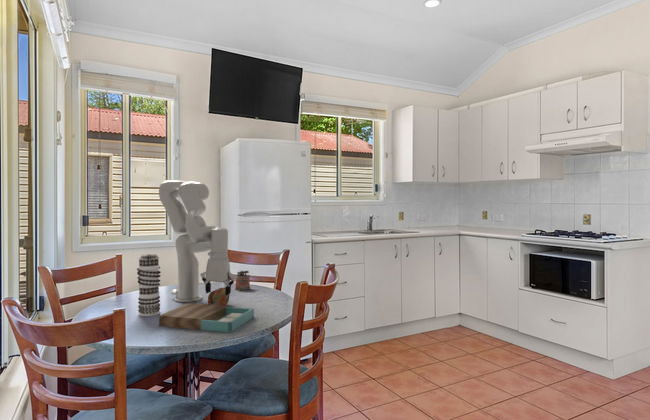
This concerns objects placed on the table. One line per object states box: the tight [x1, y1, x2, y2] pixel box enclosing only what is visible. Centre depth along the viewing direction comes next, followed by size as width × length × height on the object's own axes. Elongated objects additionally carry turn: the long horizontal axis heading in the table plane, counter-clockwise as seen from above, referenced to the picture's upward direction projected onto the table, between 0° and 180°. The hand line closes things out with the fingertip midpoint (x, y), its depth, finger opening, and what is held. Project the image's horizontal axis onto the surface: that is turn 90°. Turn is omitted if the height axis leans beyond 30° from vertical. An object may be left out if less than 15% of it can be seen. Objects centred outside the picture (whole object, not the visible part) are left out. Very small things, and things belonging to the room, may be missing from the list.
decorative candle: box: [136, 253, 162, 317], centre depth 173 cm, size 9×9×25 cm
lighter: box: [234, 270, 251, 291], centre depth 221 cm, size 8×3×10 cm, turn 117°
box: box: [200, 306, 255, 333], centre depth 160 cm, size 12×20×4 cm, turn 166°
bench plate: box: [158, 302, 228, 331], centre depth 164 cm, size 18×20×4 cm
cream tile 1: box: [218, 318, 234, 322], centre depth 156 cm, size 5×5×2 cm
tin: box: [207, 287, 230, 306], centre depth 183 cm, size 15×3×8 cm, turn 165°
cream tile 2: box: [226, 313, 242, 319], centre depth 163 cm, size 5×5×2 cm
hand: (217, 293), depth 183 cm, fingers open, 9 cm apart
